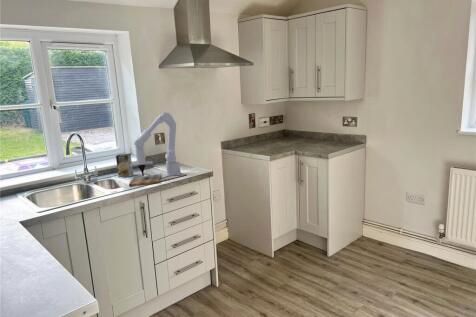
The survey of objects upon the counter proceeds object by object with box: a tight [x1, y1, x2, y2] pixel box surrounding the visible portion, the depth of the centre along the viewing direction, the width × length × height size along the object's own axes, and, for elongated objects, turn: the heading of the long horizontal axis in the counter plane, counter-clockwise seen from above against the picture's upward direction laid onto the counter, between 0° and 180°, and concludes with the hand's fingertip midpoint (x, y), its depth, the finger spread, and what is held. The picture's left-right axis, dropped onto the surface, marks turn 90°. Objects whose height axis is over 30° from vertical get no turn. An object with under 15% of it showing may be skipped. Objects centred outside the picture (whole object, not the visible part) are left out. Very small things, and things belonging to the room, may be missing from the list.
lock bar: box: [143, 171, 149, 179], centre depth 243 cm, size 10×3×2 cm, turn 19°
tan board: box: [128, 173, 162, 187], centre depth 240 cm, size 19×22×1 cm
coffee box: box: [115, 153, 134, 178], centre depth 257 cm, size 9×6×16 cm
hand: (143, 175), depth 244 cm, fingers closed
